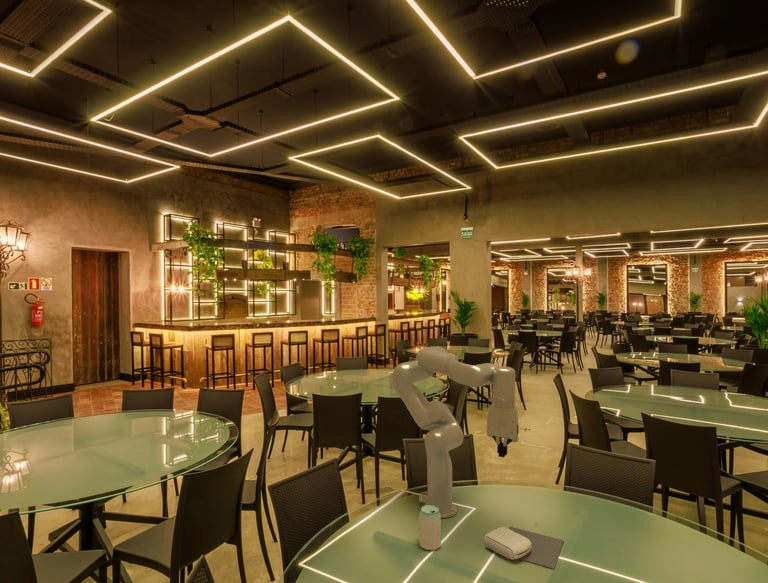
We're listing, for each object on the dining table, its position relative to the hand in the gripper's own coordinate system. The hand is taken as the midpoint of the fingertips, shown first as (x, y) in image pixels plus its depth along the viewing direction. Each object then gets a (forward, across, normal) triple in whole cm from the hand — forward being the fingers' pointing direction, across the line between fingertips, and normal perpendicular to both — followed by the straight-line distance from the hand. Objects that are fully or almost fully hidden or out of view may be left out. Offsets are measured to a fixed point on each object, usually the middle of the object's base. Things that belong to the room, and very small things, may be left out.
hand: (502, 455), depth 150 cm
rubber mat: (+27, +11, -2) cm, 29 cm away
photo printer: (+25, 0, -6) cm, 25 cm away
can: (+28, -17, -19) cm, 38 cm away
